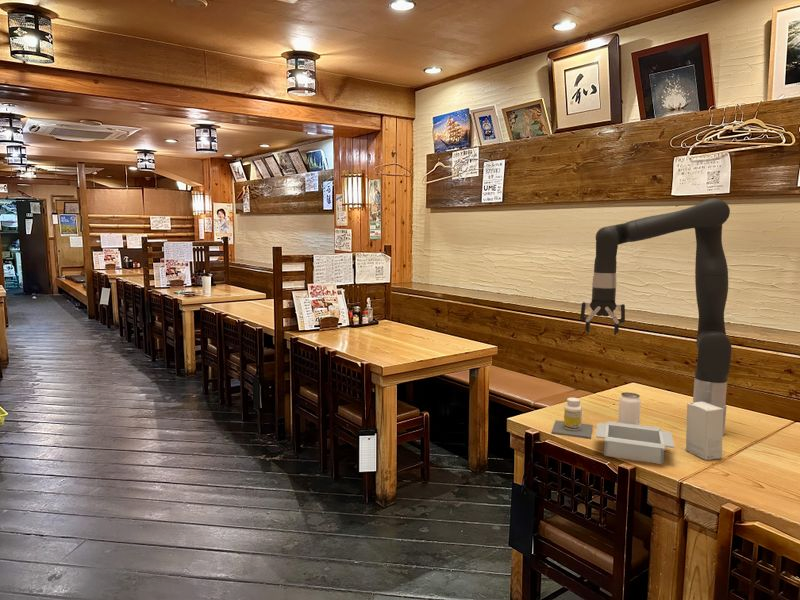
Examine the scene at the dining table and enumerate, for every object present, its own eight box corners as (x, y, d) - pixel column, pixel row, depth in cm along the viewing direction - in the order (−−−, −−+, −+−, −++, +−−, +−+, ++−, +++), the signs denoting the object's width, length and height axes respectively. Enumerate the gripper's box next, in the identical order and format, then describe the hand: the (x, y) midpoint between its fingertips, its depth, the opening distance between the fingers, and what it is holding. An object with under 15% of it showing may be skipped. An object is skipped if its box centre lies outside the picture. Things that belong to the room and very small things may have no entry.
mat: (592, 426, 185) (592, 424, 185) (590, 439, 174) (590, 437, 174) (555, 421, 190) (555, 420, 190) (551, 433, 179) (551, 431, 178)
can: (640, 434, 178) (643, 398, 177) (619, 433, 180) (621, 397, 178) (636, 427, 185) (638, 392, 183) (616, 426, 186) (618, 391, 184)
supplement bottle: (568, 424, 186) (570, 395, 184) (584, 428, 182) (585, 399, 181) (560, 428, 182) (562, 399, 181) (576, 432, 178) (577, 402, 177)
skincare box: (722, 459, 159) (726, 409, 158) (704, 461, 158) (708, 410, 156) (700, 448, 168) (704, 400, 166) (683, 449, 166) (686, 401, 164)
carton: (668, 446, 169) (670, 429, 168) (673, 469, 152) (675, 449, 152) (596, 436, 176) (597, 420, 175) (594, 457, 160) (595, 439, 159)
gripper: (626, 286, 188) (624, 333, 190) (582, 284, 194) (580, 330, 196) (627, 288, 181) (624, 337, 183) (581, 286, 187) (578, 333, 189)
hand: (601, 333), depth 189 cm, fingers open, 8 cm apart
